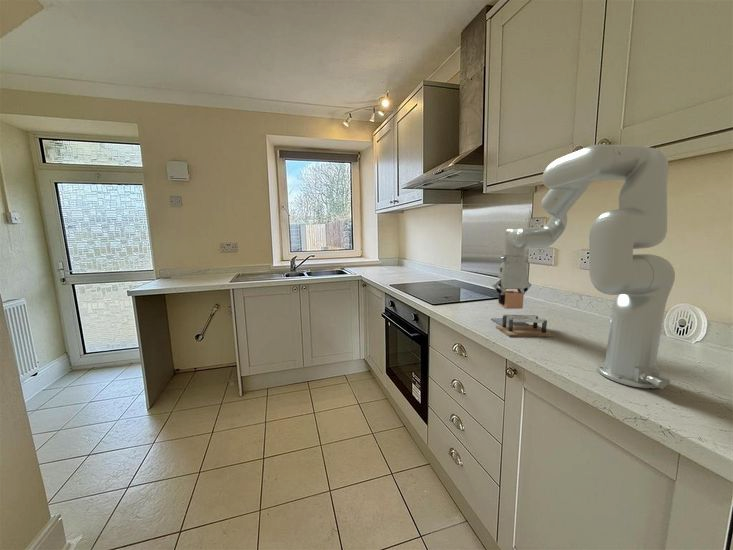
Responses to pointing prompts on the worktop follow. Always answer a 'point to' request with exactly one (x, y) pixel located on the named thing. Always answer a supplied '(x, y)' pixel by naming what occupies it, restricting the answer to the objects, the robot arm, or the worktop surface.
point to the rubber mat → (499, 321)
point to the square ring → (513, 300)
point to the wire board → (523, 331)
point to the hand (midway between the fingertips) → (510, 303)
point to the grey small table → (524, 319)
